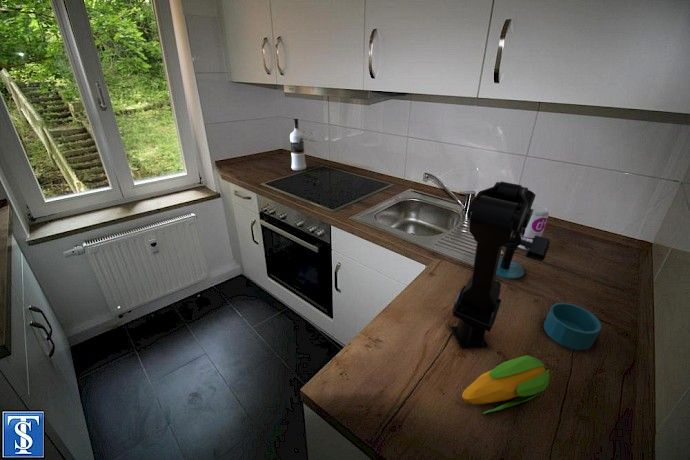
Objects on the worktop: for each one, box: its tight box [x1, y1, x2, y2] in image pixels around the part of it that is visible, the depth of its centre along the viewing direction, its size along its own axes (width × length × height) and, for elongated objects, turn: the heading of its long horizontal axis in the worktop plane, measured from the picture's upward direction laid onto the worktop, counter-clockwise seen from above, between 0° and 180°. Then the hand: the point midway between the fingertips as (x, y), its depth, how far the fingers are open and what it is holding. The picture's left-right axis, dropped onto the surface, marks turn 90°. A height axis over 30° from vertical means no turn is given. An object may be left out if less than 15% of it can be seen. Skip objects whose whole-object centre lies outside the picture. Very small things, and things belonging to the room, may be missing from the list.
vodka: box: [289, 118, 307, 172], centre depth 190 cm, size 9×9×30 cm
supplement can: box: [517, 203, 550, 251], centre depth 111 cm, size 8×8×15 cm
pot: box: [543, 302, 602, 351], centre depth 76 cm, size 10×10×5 cm
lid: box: [495, 247, 525, 280], centre depth 99 cm, size 11×11×10 cm
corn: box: [461, 354, 550, 415], centre depth 61 cm, size 7×8×20 cm
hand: (509, 249), depth 97 cm, fingers open, 9 cm apart
